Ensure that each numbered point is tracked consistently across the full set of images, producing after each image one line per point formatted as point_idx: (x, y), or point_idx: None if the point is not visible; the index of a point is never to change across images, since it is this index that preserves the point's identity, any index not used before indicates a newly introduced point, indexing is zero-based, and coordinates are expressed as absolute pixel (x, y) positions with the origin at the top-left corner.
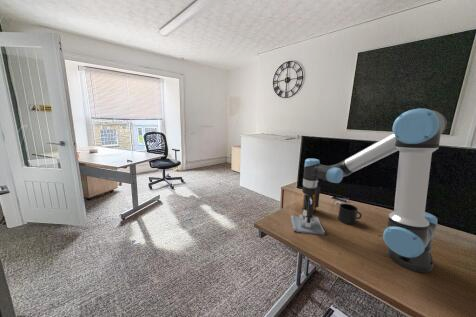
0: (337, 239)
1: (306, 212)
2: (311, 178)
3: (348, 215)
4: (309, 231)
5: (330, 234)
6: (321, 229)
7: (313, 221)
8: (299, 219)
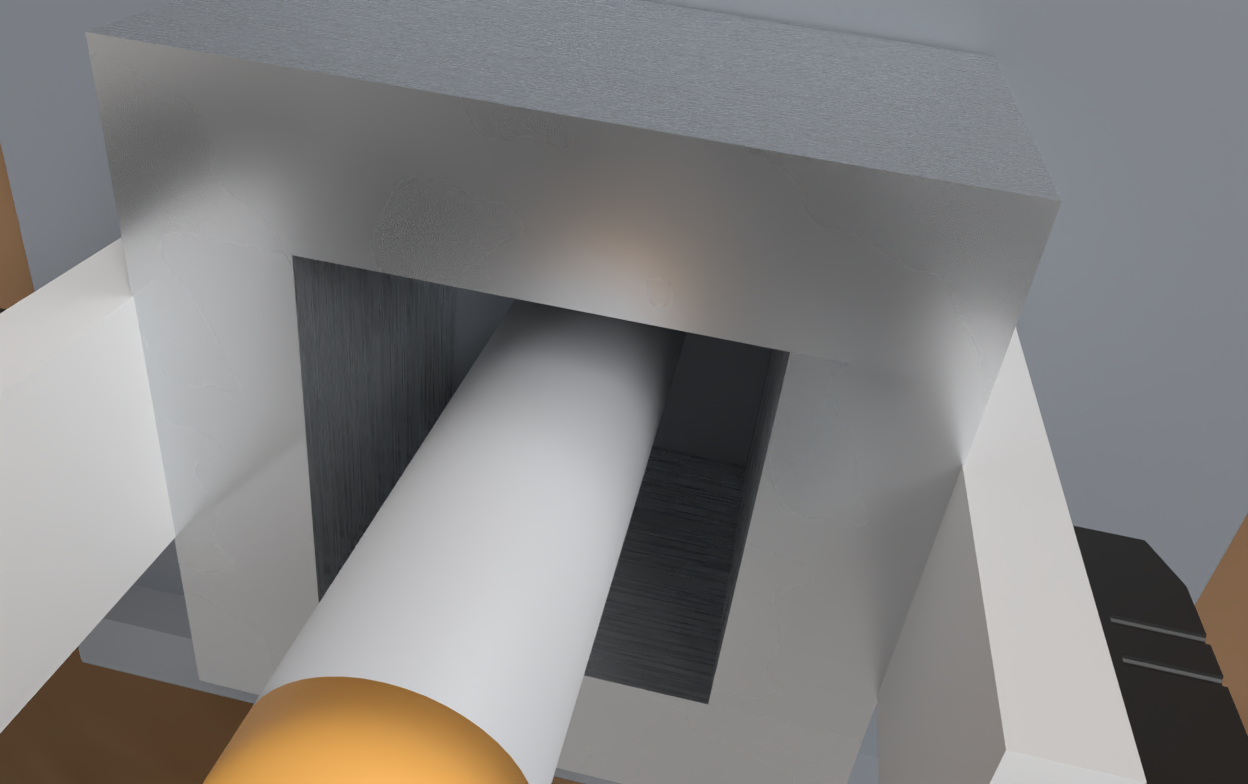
0: (58, 748)
1: (229, 770)
2: None
3: None
4: (35, 214)
5: (223, 723)
6: (192, 641)
7: (199, 636)
8: (897, 65)
